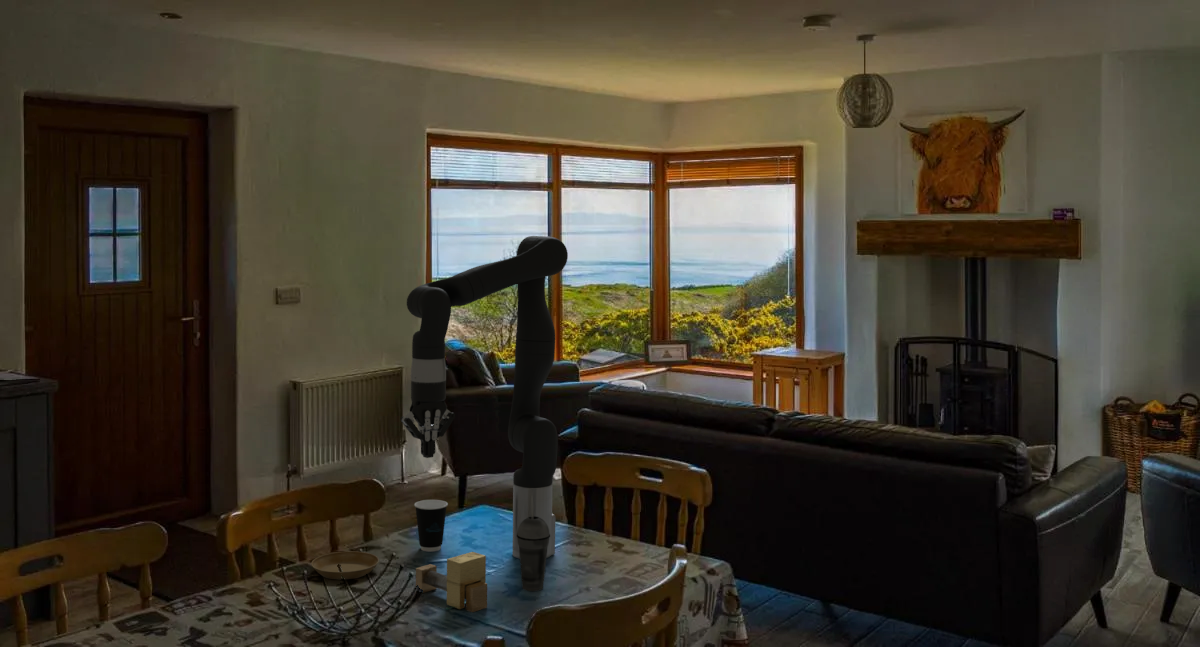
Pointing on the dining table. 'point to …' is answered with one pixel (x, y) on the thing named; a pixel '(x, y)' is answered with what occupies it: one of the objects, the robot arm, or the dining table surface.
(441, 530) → the dixie cup
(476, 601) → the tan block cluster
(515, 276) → the robot arm
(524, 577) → the beverage cup
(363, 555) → the plant saucer
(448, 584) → the wooden block arch
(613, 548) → the dining table surface
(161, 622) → the dining table surface
